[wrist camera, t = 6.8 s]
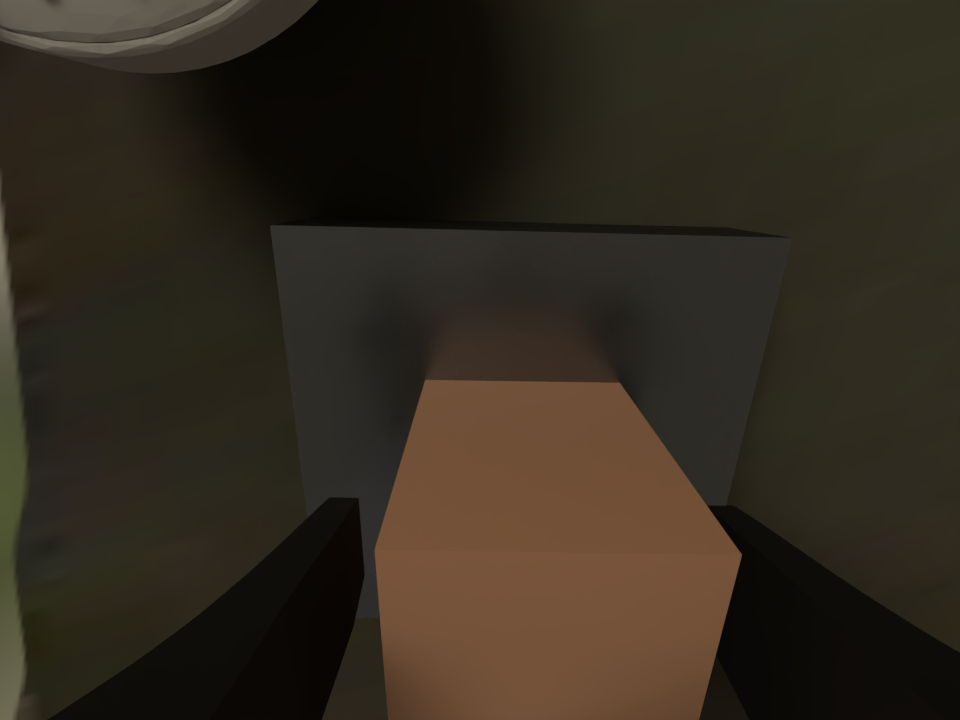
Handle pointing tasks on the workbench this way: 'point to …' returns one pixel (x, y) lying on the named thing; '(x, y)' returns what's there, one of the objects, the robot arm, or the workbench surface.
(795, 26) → the workbench surface
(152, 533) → the workbench surface
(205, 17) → the showerhead
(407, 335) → the steel base
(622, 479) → the terracotta block
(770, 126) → the workbench surface
